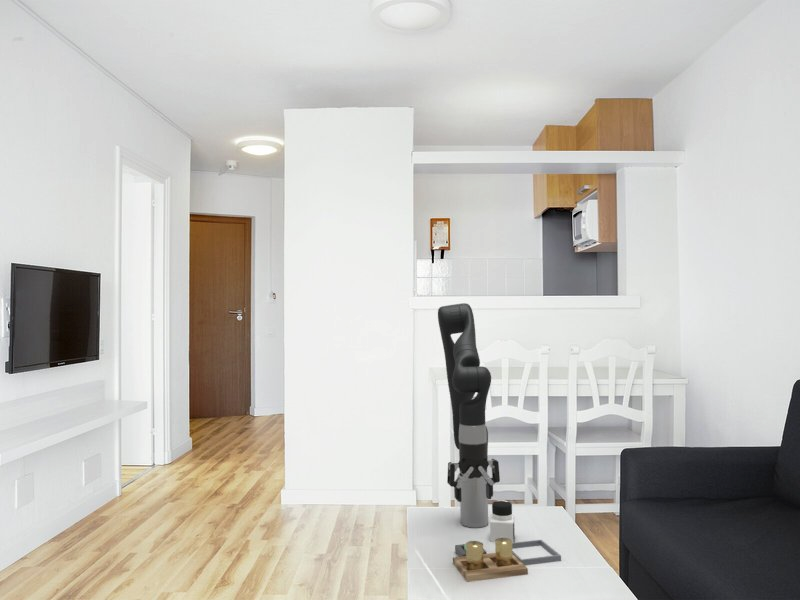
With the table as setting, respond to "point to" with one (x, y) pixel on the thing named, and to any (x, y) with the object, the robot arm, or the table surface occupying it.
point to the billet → (474, 555)
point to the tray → (537, 560)
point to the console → (460, 550)
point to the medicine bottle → (502, 521)
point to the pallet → (489, 568)
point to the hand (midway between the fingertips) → (474, 499)
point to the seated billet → (503, 552)
